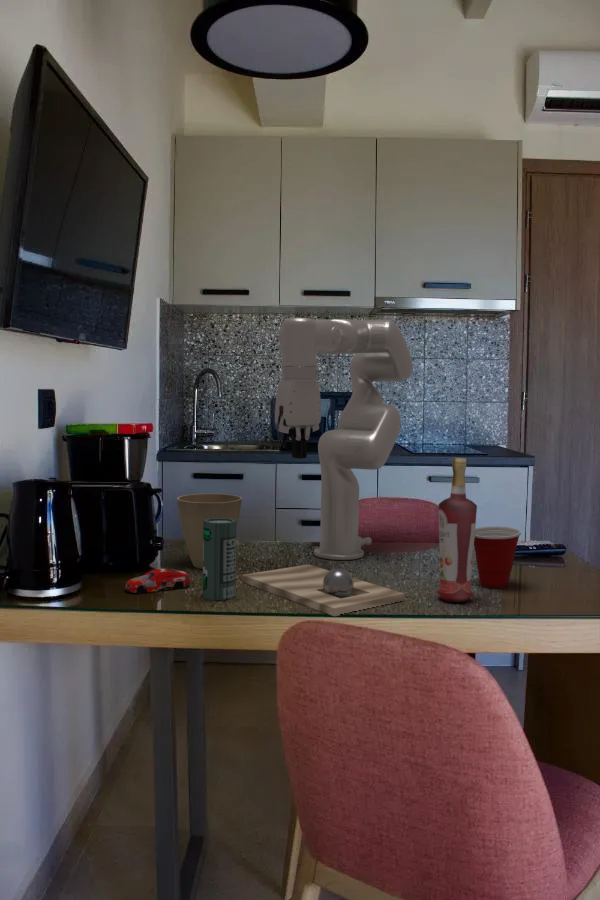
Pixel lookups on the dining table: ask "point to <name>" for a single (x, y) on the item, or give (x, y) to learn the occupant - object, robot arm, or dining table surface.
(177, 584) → the race car
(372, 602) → the wooden recessed tray
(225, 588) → the can
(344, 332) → the robot arm
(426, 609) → the dining table surface
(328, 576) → the steel ball
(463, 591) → the liquor
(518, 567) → the dining table surface
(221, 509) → the plant pot
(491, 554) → the plastic cup
